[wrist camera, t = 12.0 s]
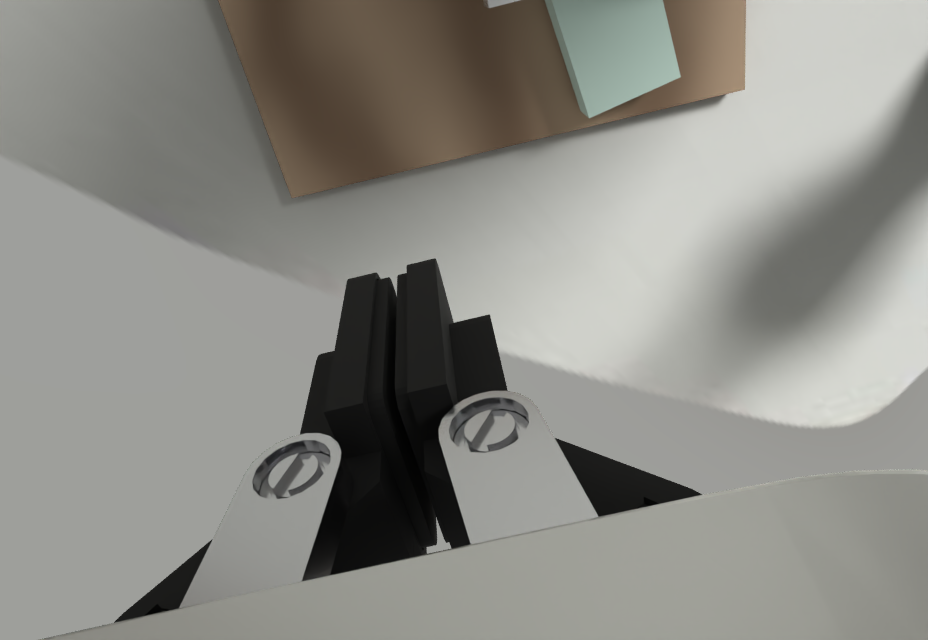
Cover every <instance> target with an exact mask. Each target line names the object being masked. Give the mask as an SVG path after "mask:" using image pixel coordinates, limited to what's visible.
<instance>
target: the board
mask: <svg viewBox="0 0 928 640" xmlns="http://www.w3.org/2000/svg"><path fill="white" fill-rule="evenodd" d="M218 2H219V4H220V7H221V10H222V12H223V15H224V18H225V20H226V23H227V26H228V29H229V31H230V34H231V37H232V39H233V42H234V45H235V47H236V50H237V53H238V55H239V58H240V61H241V63H242V66H243V69H244V71H245V74H246V77H247V79H248V82H249V85H250V88H251V90H252V93H253V96H254V98H255V101H256V104H257V106H258V109H259V112H260V114H261V117H262V120H263V122H264V125H265V128H266V130H267V133H268V136H269V138H270V141H271V144H272V147H273V149H274V152H275V155H276V157H277V160H278V163H279V165H280V168H281V171H282V173H283V176H284V179H285V181H286V184H287V187H288V189H289V192H290V195H291V197H292V198H295V197H300V196H304V195H308V194H312V193H316V192H320V191H324V190H329V189H333V188H337V187H341V186H345V185H349V184H354V183H358V182H362V181H366V180H370V179H374V178H379V177H383V176H387V175H391V174H395V173H399V172H404V171H408V170H412V169H416V168H420V167H424V166H428V165H433V164H437V163H441V162H445V161H449V160H453V159H458V158H462V157H466V156H470V155H474V154H478V153H483V152H487V151H491V150H495V149H499V148H503V147H508V146H512V145H516V144H520V143H524V142H528V141H532V140H537V139H541V138H545V137H549V136H553V135H557V134H562V133H566V132H570V131H574V130H578V129H582V128H587V127H591V126H595V125H599V124H603V123H607V122H612V121H616V120H620V119H624V118H628V117H632V116H637V115H641V114H645V113H649V112H653V111H657V110H661V109H666V108H670V107H674V106H678V105H682V104H686V103H691V102H695V101H699V100H703V99H707V98H711V97H716V96H720V95H724V94H728V93H732V92H736V91H741V90H745V28H746V0H663V3H664V8H665V12H666V16H667V20H668V25H669V29H670V33H671V37H672V42H673V46H674V50H675V54H676V59H677V63H678V67H679V71H680V76H681V77H680V78H678V79H675V80H673V81H671V82H669V83H667V84H664V85H662V86H660V87H658V88H656V89H653V90H651V91H649V92H647V93H644V94H642V95H640V96H638V97H636V98H633V99H631V100H629V101H627V102H624V103H622V104H620V105H618V106H616V107H613V108H611V109H609V110H607V111H605V112H602V113H600V114H598V115H596V116H593V117H591V118H588V117H587V116H586V115H585V114H584V113H582V112H581V111H580V108H579V105H578V102H577V98H576V95H575V92H574V89H573V86H572V83H571V80H570V77H569V74H568V71H567V68H566V65H565V61H564V58H563V55H562V52H561V49H560V46H559V43H558V40H557V37H556V34H555V31H554V27H553V24H552V21H551V18H550V15H549V12H548V9H547V6H546V3H545V0H520V1H516V2H512V3H508V4H504V5H500V6H496V7H492V8H487V7H486V6H484V2H483V0H218Z"/></svg>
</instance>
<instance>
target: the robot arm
mask: <svg viewBox="0 0 928 640" xmlns="http://www.w3.org/2000/svg"><path fill="white" fill-rule="evenodd" d="M436 517H437V520H438V523H439V526H440V528H441V531H442V534H443V537H444V539H445V541H446V543H447V542H450V545H451V548H452V549H448V550H443V551H439V552H434V553H429V554H427V552H426V547H429V546H433V545H436V544H437V528H436ZM40 640H928V470H914V469H905V470H866V471H848V472H839V473H831V474H821V475H812V476H803V477H798V478H792V479H787V480H781V481H776V482H770V483H764V484H759V485H753V486H748V487H743V488H737V489H731V490H726V491H721V492H715V493H709V494H704V495H702V494H700V493H698V492H696V491H694V490H693V489H690V488H688V487H685V486H682V485H680V484H677V483H674V482H672V481H669V480H666V479H664V478H661V477H658V476H656V475H653V474H650V473H647V472H645V471H642V470H639V469H637V468H634V467H631V466H629V465H626V464H623V463H621V462H618V461H615V460H613V459H610V458H607V457H604V456H602V455H599V454H597V453H594V452H591V451H589V450H586V449H583V448H581V447H578V446H575V445H573V444H570V443H567V442H564V441H561V440H559V439H556V438H554V436H553V434H552V433H551V431H550V429H549V427H548V425H547V424H546V422H545V420H544V418H543V417H542V415H541V413H540V411H539V409H538V407H537V406H536V405H535V404H534V403H533V402H532V401H531V400H530V399H529V398H527V397H525V396H523V395H521V394H519V393H515V392H510V391H507V386H506V382H505V378H504V374H503V370H502V365H501V361H500V357H499V352H498V348H497V344H496V339H495V335H494V331H493V327H492V322H491V318H490V315H485V316H481V317H477V318H473V319H468V320H464V321H460V322H455V323H453V319H452V315H451V311H450V308H449V304H448V300H447V297H446V293H445V289H444V286H443V282H442V278H441V275H440V271H439V267H438V264H437V261H436V259H431V260H427V261H422V262H418V263H414V264H410V265H407V273H405V274H401V275H398V277H397V296H396V293H395V290H394V287H393V284H392V281H391V279H390V278H389V277H388V278H384V279H380V277H379V275H378V274H377V273H372V274H368V275H364V276H360V277H356V278H351V279H348V281H347V285H346V290H345V296H344V301H343V307H342V312H341V318H340V323H339V329H338V335H337V340H336V346H335V351H332V352H328V353H323V354H321V355H319V356H318V358H317V360H316V365H315V369H314V374H313V378H312V383H311V387H310V392H309V396H308V401H307V405H306V410H305V414H304V419H303V423H302V428H301V432H300V435H296V436H292V437H290V438H287V439H285V440H283V441H280V442H278V443H276V444H275V445H273V446H272V447H270V448H269V449H267V450H266V451H264V452H263V453H262V454H261V455H260V456H259V457H258V458H257V459H256V460H255V461H253V462H252V464H251V465H250V467H249V468H248V470H247V471H246V473H245V475H244V477H243V479H242V481H241V483H240V485H239V487H238V489H237V491H236V493H235V495H234V497H233V499H232V501H231V503H230V505H229V507H228V509H227V511H226V513H225V515H224V518H223V519H222V521H221V523H220V526H219V528H218V530H217V532H216V534H215V536H214V538H213V539H212V540H211V541H210V542H209V543H207V544H206V545H205V546H204V547H203V548H201V549H200V550H199V551H198V552H197V553H195V554H194V555H193V556H192V557H191V558H189V559H188V560H187V561H186V562H185V563H184V564H182V565H181V566H180V567H179V568H177V570H175V571H174V572H173V573H171V574H170V575H169V576H168V577H166V578H165V579H164V580H163V581H162V582H161V583H159V584H158V585H157V586H156V587H155V588H153V589H152V590H151V591H150V592H149V593H147V594H146V595H145V596H144V597H142V598H141V599H140V600H139V601H138V602H136V603H135V604H134V605H133V606H132V607H130V608H129V609H128V610H127V611H126V612H124V613H123V614H122V615H121V616H120V617H119V618H118V619H117V620H116V621H115V622H114V623H111V624H107V625H102V626H98V627H94V628H89V629H84V630H80V631H75V632H71V633H66V634H62V635H58V636H53V637H49V638H44V639H40Z"/></svg>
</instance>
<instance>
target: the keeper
mask: <svg viewBox="0 0 928 640" xmlns="http://www.w3.org/2000/svg"><path fill="white" fill-rule="evenodd" d="M516 1H520V0H483V2H484V6H486V7H487V8H492V7H496V6H500V5H504V4H508V3H512V2H516Z"/></svg>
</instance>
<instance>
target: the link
mask: <svg viewBox="0 0 928 640" xmlns="http://www.w3.org/2000/svg"><path fill="white" fill-rule="evenodd" d="M545 3H546V6H547V9H548V12H549V15H550V18H551V21H552V24H553V27H554V31H555V34H556V37H557V40H558V43H559V46H560V49H561V52H562V55H563V58H564V61H565V65H566V68H567V71H568V74H569V77H570V80H571V83H572V86H573V89H574V92H575V95H576V98H577V102H578V105H579V108H580V111H581V112H582V113H584V114H585V115H586V116H587V117H588V118H591V117H593V116H596V115H598V114H600V113H602V112H605V111H607V110H609V109H611V108H613V107H616V106H618V105H620V104H622V103H624V102H627V101H629V100H631V99H633V98H636V97H638V96H640V95H642V94H644V93H647V92H649V91H651V90H653V89H656V88H658V87H660V86H662V85H664V84H667V83H669V82H671V81H673V80H675V79H678V78H680V77H681V76H680V71H679V67H678V63H677V59H676V54H675V50H674V46H673V42H672V37H671V33H670V29H669V25H668V20H667V16H666V12H665V8H664V3H663V0H545Z"/></svg>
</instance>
